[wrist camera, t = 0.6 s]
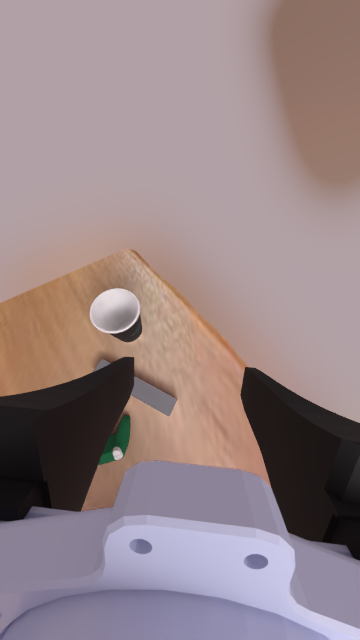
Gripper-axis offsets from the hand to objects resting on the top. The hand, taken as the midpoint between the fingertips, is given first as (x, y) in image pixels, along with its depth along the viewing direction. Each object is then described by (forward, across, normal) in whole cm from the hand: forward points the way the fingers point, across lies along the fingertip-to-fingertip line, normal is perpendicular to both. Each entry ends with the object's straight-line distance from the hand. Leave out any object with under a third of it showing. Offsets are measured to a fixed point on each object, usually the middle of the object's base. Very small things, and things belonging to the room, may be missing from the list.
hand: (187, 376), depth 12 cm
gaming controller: (+15, +13, +22) cm, 30 cm away
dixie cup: (+26, +12, +7) cm, 30 cm away
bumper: (+20, +9, +15) cm, 26 cm away
